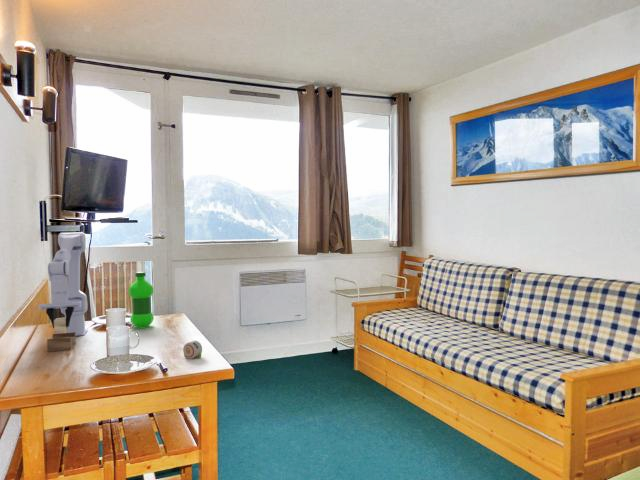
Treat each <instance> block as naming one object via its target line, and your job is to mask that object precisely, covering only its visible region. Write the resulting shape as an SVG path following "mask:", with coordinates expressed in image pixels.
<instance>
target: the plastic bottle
mask: <svg viewBox="0 0 640 480" xmlns="http://www.w3.org/2000/svg"><path fill="white" fill-rule="evenodd" d="M134 273H135V277H136V280H135V281H134V282H133V283H132V284H131V285H130V286H129V287H128V294H129V297H131V308H132V314H131V316H130V323H131V325H133V326H134V327H136V328H137V329H145V328H148V327H149V326H150V325H152V323H153V321H154V315H153V312H152V302H151V301H152V300H151V297H152V296H153V295H154V287H153V285H152V284H151V283H150V282H148V281H147V279H145V277H146V273H147V272H146V271H138V272H137V271H135V272H134Z"/></svg>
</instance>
